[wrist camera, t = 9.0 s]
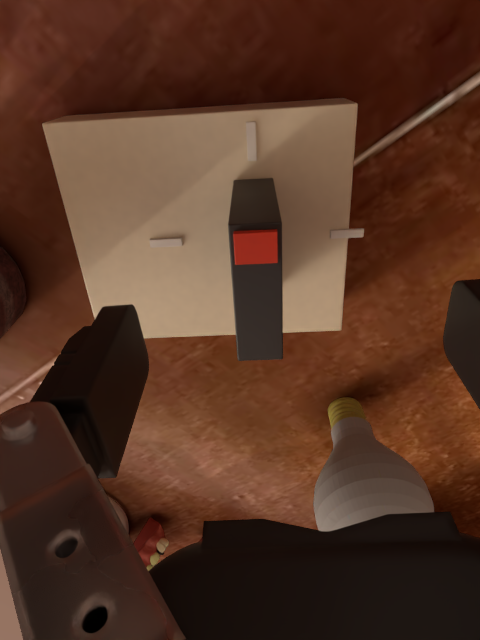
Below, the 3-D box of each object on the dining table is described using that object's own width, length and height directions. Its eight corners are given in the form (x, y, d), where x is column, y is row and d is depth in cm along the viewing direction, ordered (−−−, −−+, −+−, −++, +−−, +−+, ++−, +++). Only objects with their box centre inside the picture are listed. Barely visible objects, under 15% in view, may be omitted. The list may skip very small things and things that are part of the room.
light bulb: (357, 445, 29) (402, 609, 20) (283, 418, 28) (299, 580, 19) (406, 387, 26) (483, 548, 18) (328, 355, 25) (369, 511, 16)
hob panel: (113, 315, 24) (98, 342, 22) (64, 115, 19) (39, 123, 16) (344, 305, 23) (354, 332, 21) (360, 96, 18) (375, 102, 16)
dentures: (206, 624, 33) (102, 606, 31) (209, 568, 37) (116, 549, 35) (234, 589, 30) (122, 567, 29) (234, 532, 34) (134, 509, 32)
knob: (274, 288, 20) (283, 363, 15) (240, 290, 20) (237, 365, 15) (273, 177, 17) (282, 225, 13) (233, 179, 18) (227, 227, 13)
